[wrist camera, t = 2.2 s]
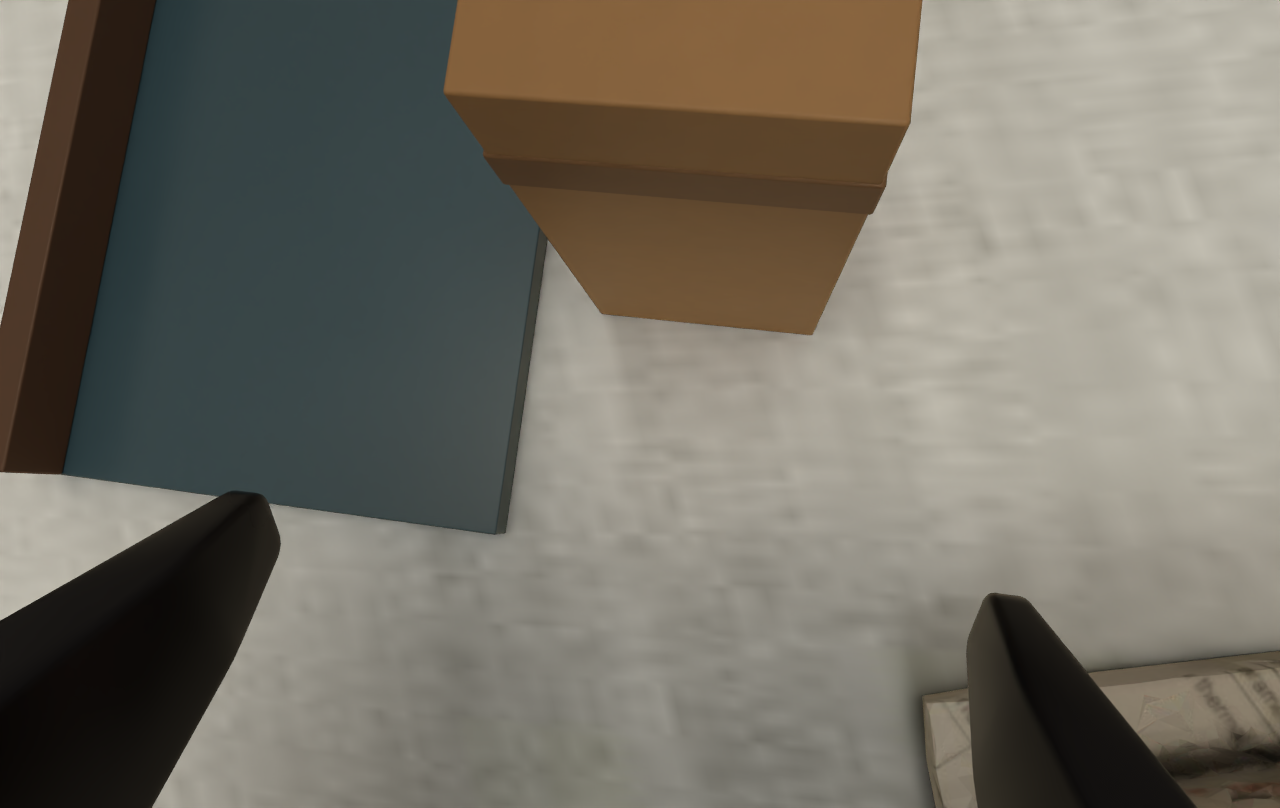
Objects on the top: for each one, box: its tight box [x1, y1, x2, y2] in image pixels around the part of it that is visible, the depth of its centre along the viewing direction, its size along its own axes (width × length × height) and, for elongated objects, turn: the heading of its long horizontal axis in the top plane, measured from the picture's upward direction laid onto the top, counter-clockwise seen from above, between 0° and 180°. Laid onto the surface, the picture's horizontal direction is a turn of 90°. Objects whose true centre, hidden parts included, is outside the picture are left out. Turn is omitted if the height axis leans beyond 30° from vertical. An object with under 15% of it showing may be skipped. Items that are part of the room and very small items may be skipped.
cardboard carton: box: [443, 0, 922, 335], centre depth 17 cm, size 5×6×13 cm
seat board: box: [0, 0, 547, 535], centre depth 24 cm, size 20×14×3 cm
